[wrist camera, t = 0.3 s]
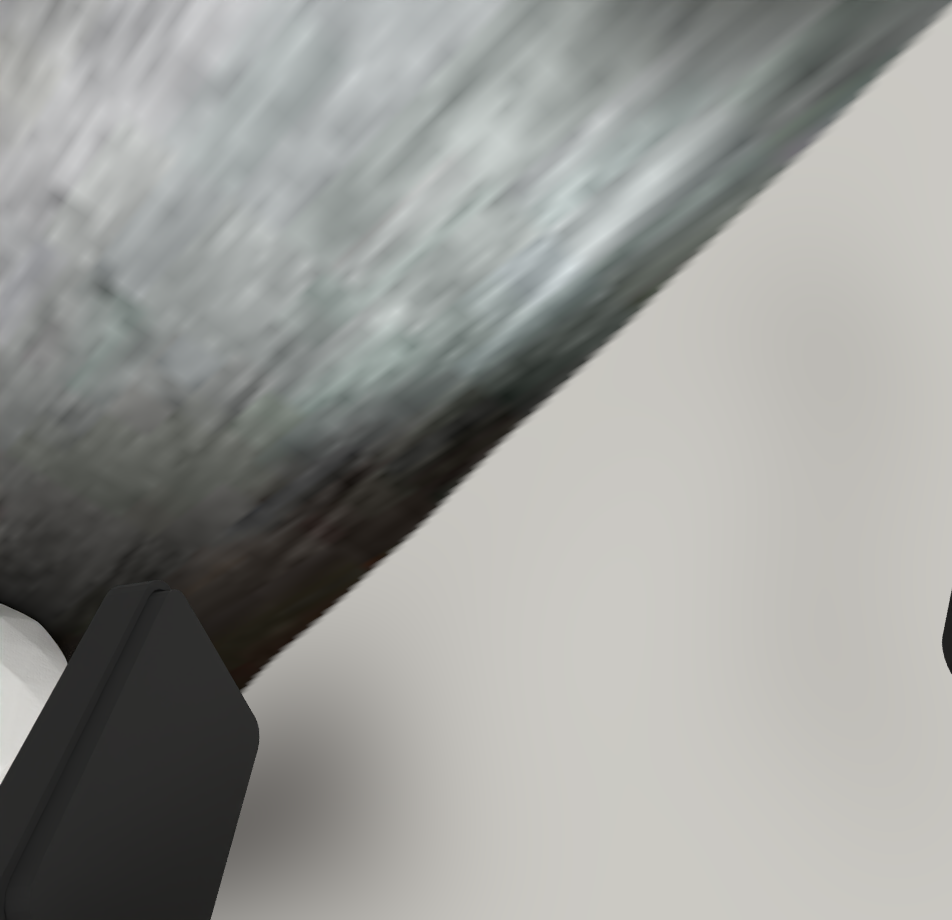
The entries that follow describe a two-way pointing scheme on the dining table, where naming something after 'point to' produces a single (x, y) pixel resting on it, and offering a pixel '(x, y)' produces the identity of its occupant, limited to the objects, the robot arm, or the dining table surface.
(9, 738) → the decorative rooster
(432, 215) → the dining table surface
